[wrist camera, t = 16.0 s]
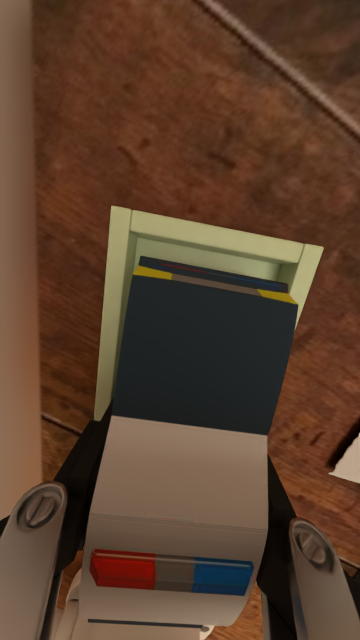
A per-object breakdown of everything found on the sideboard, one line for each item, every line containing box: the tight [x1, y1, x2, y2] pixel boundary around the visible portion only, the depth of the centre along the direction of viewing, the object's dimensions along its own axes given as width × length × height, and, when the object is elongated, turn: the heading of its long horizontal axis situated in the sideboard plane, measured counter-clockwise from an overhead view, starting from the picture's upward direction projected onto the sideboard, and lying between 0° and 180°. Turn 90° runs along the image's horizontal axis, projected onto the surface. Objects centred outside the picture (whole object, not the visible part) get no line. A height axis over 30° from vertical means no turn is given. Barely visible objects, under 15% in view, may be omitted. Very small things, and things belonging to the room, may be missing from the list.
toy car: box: [79, 256, 299, 628], centre depth 7 cm, size 5×16×5 cm, turn 170°
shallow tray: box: [94, 206, 324, 421], centre depth 11 cm, size 9×20×2 cm, turn 170°
